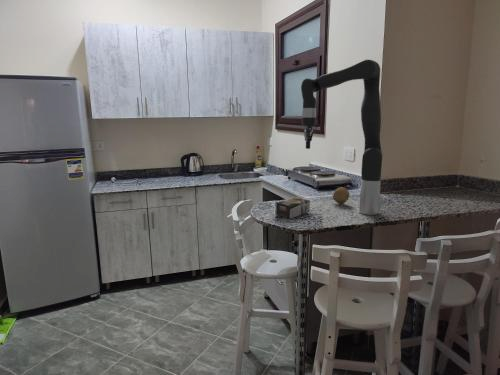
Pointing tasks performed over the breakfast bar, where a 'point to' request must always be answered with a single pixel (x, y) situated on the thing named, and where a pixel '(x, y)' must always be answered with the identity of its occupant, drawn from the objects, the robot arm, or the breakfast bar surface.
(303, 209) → the coffee box
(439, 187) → the breakfast bar surface
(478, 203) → the breakfast bar surface
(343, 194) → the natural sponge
